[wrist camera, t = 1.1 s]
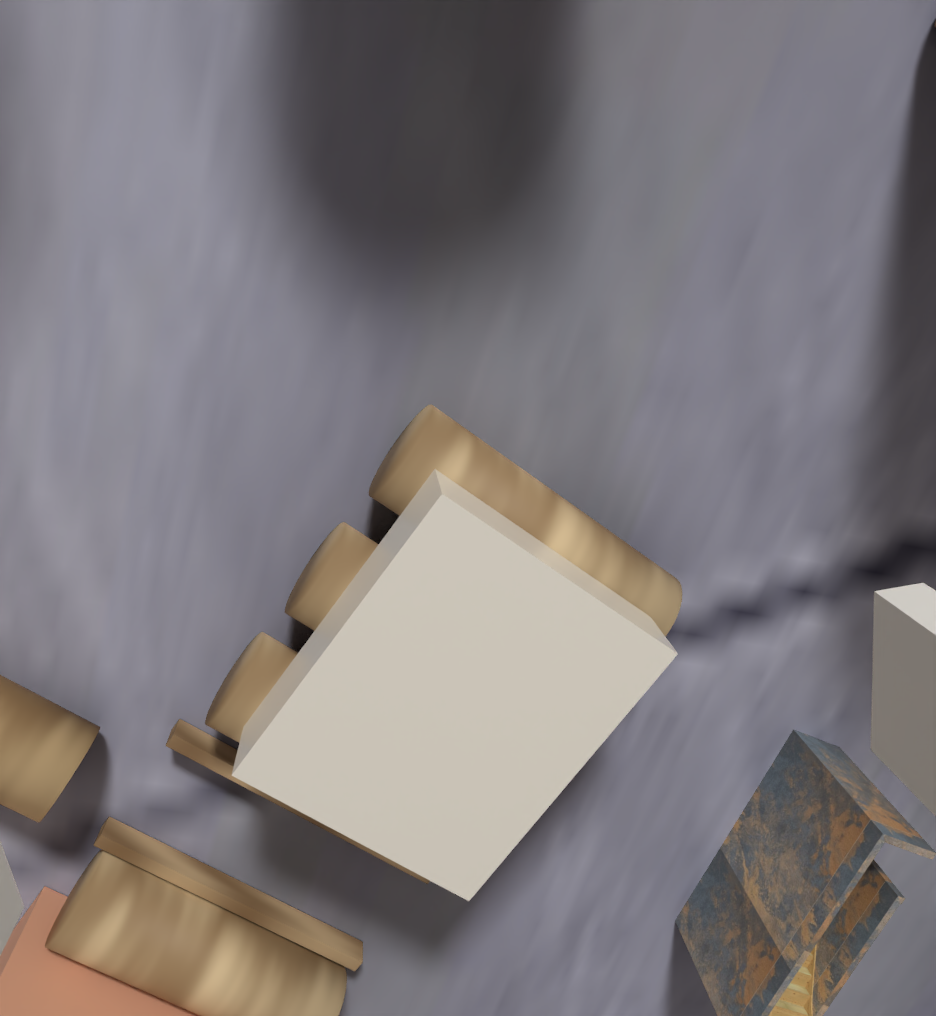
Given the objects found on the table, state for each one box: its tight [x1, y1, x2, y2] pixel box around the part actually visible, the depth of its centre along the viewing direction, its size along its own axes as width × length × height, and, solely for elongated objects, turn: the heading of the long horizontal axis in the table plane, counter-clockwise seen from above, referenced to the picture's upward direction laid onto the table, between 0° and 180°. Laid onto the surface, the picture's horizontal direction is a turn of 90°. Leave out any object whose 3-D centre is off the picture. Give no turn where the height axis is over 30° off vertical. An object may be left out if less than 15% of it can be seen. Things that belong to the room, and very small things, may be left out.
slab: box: [232, 469, 678, 901], centre depth 31 cm, size 10×12×3 cm
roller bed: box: [45, 405, 682, 1016], centre depth 35 cm, size 13×27×4 cm, turn 144°
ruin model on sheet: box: [675, 730, 936, 1016], centre depth 37 cm, size 11×3×10 cm, turn 156°
